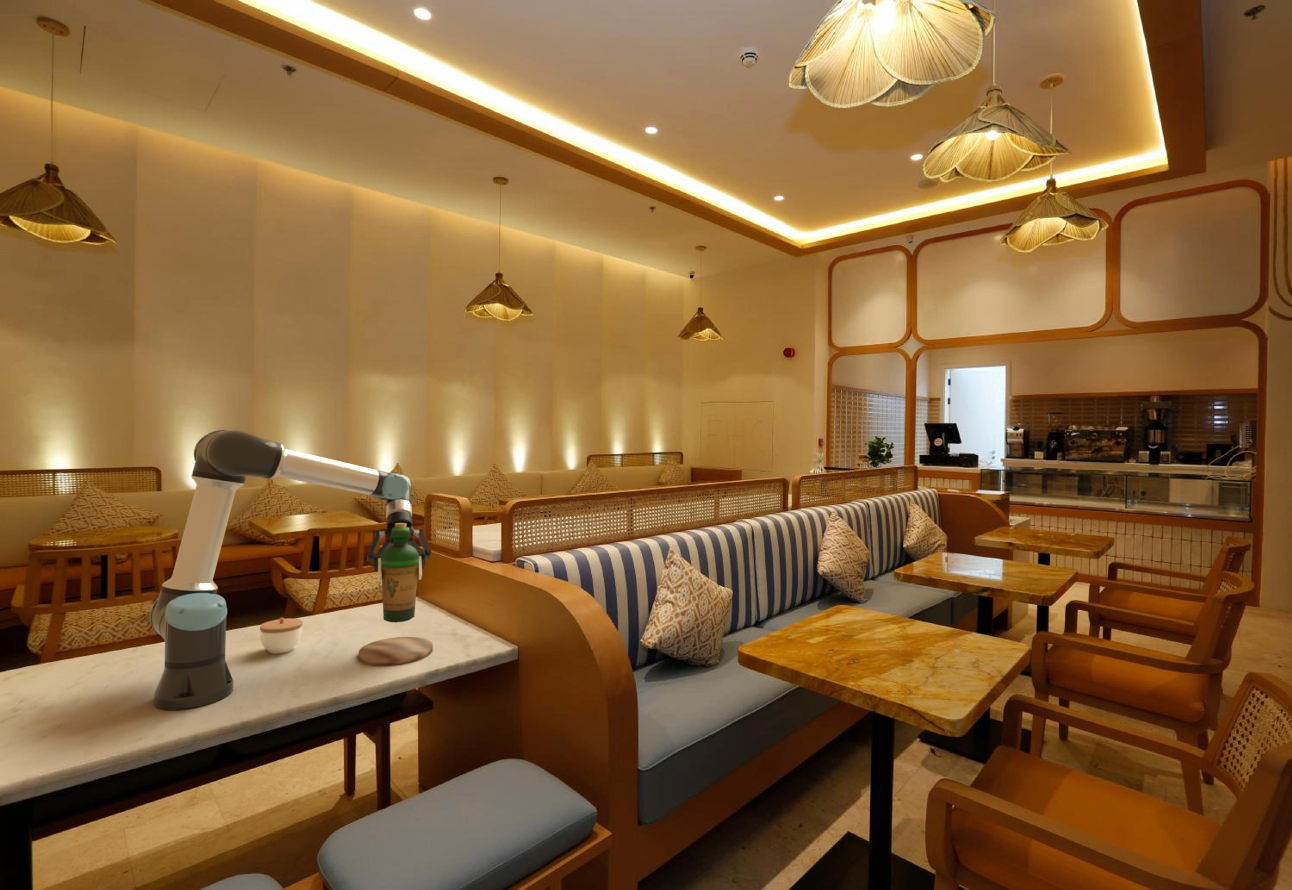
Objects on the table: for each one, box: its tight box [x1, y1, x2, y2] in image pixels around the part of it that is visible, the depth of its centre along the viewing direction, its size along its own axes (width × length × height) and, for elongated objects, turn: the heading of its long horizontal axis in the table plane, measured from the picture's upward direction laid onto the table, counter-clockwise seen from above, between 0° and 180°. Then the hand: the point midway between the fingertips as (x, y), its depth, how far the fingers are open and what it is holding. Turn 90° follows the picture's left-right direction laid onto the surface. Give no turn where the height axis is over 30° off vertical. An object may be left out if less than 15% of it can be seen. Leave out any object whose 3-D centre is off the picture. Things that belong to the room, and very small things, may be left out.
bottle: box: [381, 523, 419, 623], centre depth 176 cm, size 11×11×28 cm
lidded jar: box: [259, 617, 304, 654], centre depth 176 cm, size 11×11×9 cm
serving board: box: [358, 636, 434, 667], centre depth 176 cm, size 20×20×2 cm
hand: (400, 578), depth 173 cm, fingers closed on bottle, 10 cm apart
